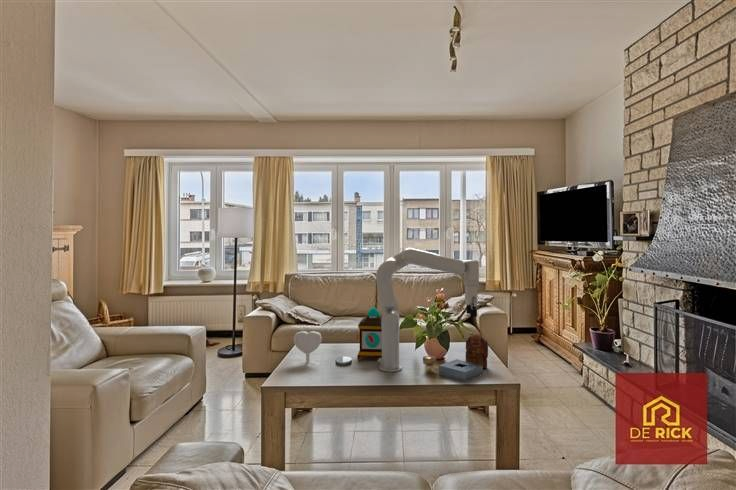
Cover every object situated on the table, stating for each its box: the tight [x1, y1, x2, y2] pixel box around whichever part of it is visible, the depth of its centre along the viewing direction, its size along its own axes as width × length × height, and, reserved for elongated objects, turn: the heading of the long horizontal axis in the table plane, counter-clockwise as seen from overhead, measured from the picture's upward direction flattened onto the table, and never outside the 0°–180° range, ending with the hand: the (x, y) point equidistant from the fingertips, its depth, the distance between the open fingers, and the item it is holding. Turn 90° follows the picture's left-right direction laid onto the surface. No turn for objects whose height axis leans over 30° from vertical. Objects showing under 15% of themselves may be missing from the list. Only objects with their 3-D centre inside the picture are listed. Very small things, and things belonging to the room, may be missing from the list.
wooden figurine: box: [465, 334, 489, 369], centre depth 231 cm, size 12×6×18 cm, turn 79°
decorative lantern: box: [356, 307, 382, 362], centre depth 252 cm, size 20×20×30 cm
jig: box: [438, 358, 484, 383], centre depth 219 cm, size 16×16×5 cm
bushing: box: [422, 355, 437, 374], centre depth 224 cm, size 7×7×8 cm
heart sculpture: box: [293, 330, 323, 366], centre depth 240 cm, size 16×5×18 cm, turn 87°
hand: (471, 315), depth 225 cm, fingers open, 9 cm apart
